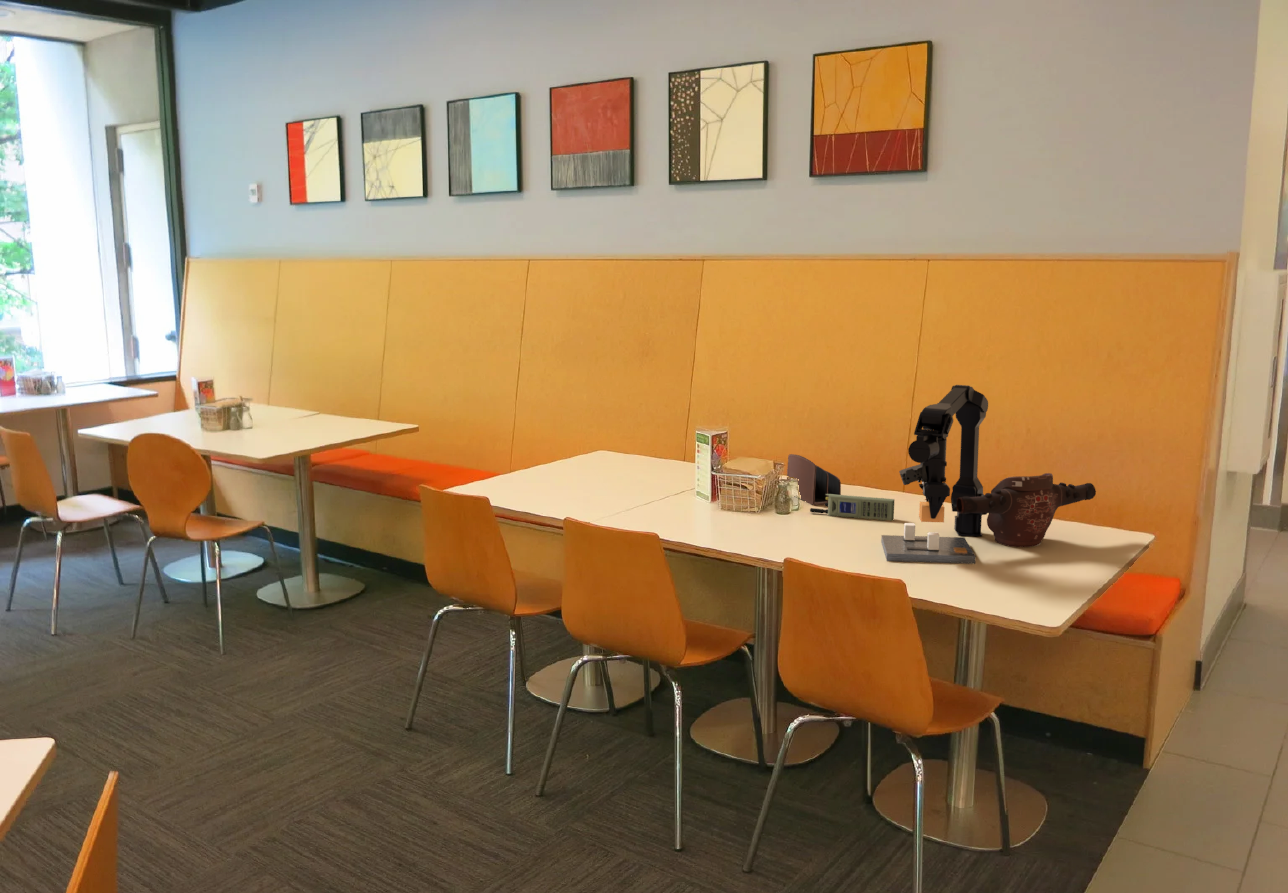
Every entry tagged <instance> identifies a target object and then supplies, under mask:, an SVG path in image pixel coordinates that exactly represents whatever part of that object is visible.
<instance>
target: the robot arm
mask: <svg viewBox="0 0 1288 893" xmlns="http://www.w3.org/2000/svg"><path fill="white" fill-rule="evenodd" d="M988 409H989V400H988V399H987V397H986V396H985V395H984V394H983V393H981V392H979V391H977V390H975V389H974V387H973V386H971V385H966V384H965V385H964V384H954V385H952V386H951V389H950V391H949V392H948V393H947V394H945V395H944V397H943V398H942V399H941V400H940V401H939V402H937V403H934V404H929V405H927V406H925V407H923V408H922V411H921V412H920V413H919V416H918V420H917V422H916V426H915V429H914V432H913V435H914V436H915V437H916V439H915V440H914V441H912V442H911V443H910V444H909V446H908V450H907V452H908V456H909V458H910V459H911V460H912V461H913V462H914V463H918V464H916V465H911V466H910V467H907V468H903V469H901V470H899V472H898V473H899V475H900V478H901V480H902V485H904V486H908V485H910V484H911V483H915V482H917V483H918V486H919V488H920V489H921V490H922V492H921V493H922V494H923V496H924V497H925V502H929V509H930V515H931V518H932V519H935V518H936V516H937V514H938V512H939V510H940V508H941V506H942V504H943V505H944V503H945V501H946V499H947V497H950V503H951V512H956V515H954V528H953V530H954V532H955V533H956V534H957V536H963V537H965V536H966V537H969V536H970V537H971V536H972V537H982V536H983V533H982V518H983V516H985V515H986V516H987V515H988V513H969V514H962V513H961V514H960V513H958V511H957V507H956V505H957V499H958V498H960V497H964V496H968V497H979V496H984V495H985V494H984V486H983V485H982V483H981V481H980V479H979V477H978V468H979V466H978V465H979V464H978V463H979V440H980V426H981V424H982V423H983V421H984V419H985V418H986V416H987V411H988ZM954 415H955V418H956V420H957V422H958V425H959V426H960V427H961V428H960V430H961V431H960V453H959V456H960V457H959V460H960V461H959V477H958V480H957V481H956V483H955V484H953V485H952V488H950V487H949V485H948V484H947V483H946V482H947V477H946V467H947V464H948V462H947V459H946V458H947V457H946V456H947V442H948V441H947V438H949V433H950V431H951V429H952V426H953V423H954ZM919 463H920V464H919ZM951 489H952V490H951ZM951 491H952V492H951Z"/></svg>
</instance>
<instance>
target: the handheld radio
mask: <svg viewBox="0 0 1288 893" xmlns="http://www.w3.org/2000/svg"><path fill="white" fill-rule="evenodd" d="M825 495H829V497H826V500H828V503H825V505H824V506H825V507H826V509H824V508H816V507H815V508H814V507H810V508H809V513H814V514H816V513H817V514H826V515H827V516H828V517H836V516H841V517H840V518H848V517H854V518H853V519H860V518H865V519H864V520H872V519H878V520H877V521H884V520H890V521H889V522H892V521H891V520H893V519H894V520H895V518H894V516H895V498H886V497H885V498H884V497H873V496H872V497H871V496H858V495H849V494H848V495H847V494H846V495H845V494H841V495H835V494H825ZM894 520H893V521H894Z"/></svg>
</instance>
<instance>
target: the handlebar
mask: <svg viewBox="0 0 1288 893" xmlns="http://www.w3.org/2000/svg"><path fill="white" fill-rule="evenodd" d="M1096 492H1097V491H1096V487H1095V485H1094V484H1093V483H1091V482H1087V483H1082V484H1078V485H1073V483H1071V484H1068V485H1067V483H1065V482H1059V483H1058V484H1055V483H1054V476H1053V474H1052V473H1051V472H1048V473H1047V472H1046V473H1043V474H1041V475H1031V476H1026V475H1025V476H1024V475H1023V476H1021V475H1020V476H1008V477H1006V478H1004V479H1001V480H1000V481H999V482H998V483H997V484H996V485H995V486H994V487H993V488H992V489H991V491H990V492H986V493H985V494H984V496H979V497H968V496H964V497H960V498H958V499H957V505H956V507H957V511H958V513H960V514H961V513H962V514H969V513H987V517H986V525H987V527H988V529H990V531H991V532H992V533H993V538H994V541H995V542H996V543H997V544H999V545H1003V546H1006V547H1007V546H1008V547H1012V548H1031V547H1037V546H1039V545H1040V544H1041V543H1042V541H1043V540H1044V539H1045V535H1046V533H1047V531H1048V530H1049V528H1050V526H1051V524H1052V522H1053V518H1054V516H1055V513H1056V512H1057V510H1058V509H1059V508H1060V507H1063V506H1067V505H1071V504H1075V503H1079V502H1082V501H1089V500H1091V499H1094V497H1095V496H1096Z"/></svg>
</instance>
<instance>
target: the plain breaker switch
mask: <svg viewBox="0 0 1288 893" xmlns="http://www.w3.org/2000/svg"><path fill="white" fill-rule="evenodd" d="M903 526H904V527H903V536H904V539H905V540H915V536H916V524H915V523H914V522H904V524H903Z"/></svg>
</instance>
